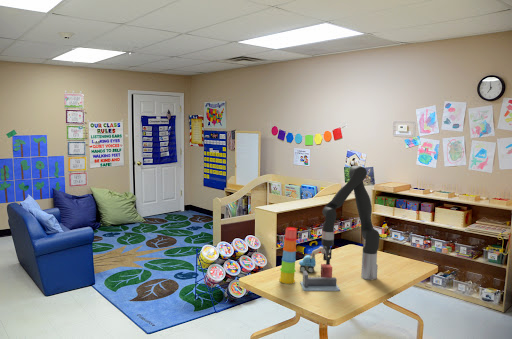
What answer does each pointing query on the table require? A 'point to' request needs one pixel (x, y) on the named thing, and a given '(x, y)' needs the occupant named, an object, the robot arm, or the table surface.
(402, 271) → the table surface
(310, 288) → the base board
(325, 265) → the red slotted block
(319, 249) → the toy excavator
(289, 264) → the stacking cups
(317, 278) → the coupler rail
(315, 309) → the table surface
